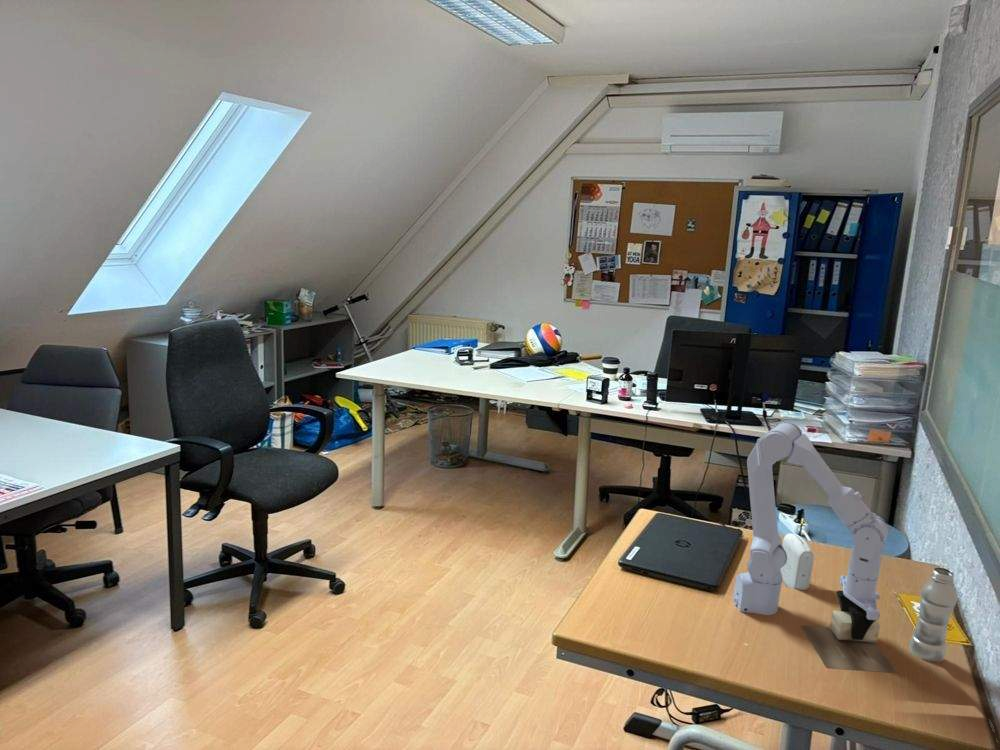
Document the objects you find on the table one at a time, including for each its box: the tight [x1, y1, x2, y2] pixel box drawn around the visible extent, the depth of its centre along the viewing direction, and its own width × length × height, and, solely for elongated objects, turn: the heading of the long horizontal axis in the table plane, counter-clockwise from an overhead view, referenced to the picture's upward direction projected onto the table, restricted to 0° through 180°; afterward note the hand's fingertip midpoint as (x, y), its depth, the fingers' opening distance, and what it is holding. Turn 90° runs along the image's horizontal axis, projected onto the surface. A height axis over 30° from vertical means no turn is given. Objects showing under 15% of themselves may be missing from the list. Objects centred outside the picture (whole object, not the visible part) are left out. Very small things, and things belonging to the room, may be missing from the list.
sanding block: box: [829, 610, 881, 643], centre depth 158 cm, size 8×4×4 cm, turn 88°
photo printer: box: [780, 533, 815, 591], centre depth 182 cm, size 10×4×12 cm, turn 3°
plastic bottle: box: [908, 566, 958, 663], centre depth 153 cm, size 6×7×20 cm
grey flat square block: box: [800, 625, 899, 674], centre depth 155 cm, size 14×15×2 cm
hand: (852, 631), depth 158 cm, fingers closed on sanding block, 4 cm apart
